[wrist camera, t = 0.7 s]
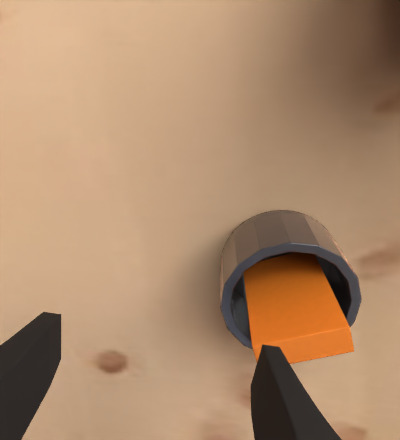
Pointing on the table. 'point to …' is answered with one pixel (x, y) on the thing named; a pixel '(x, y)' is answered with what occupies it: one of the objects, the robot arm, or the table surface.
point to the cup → (273, 247)
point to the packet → (295, 309)
